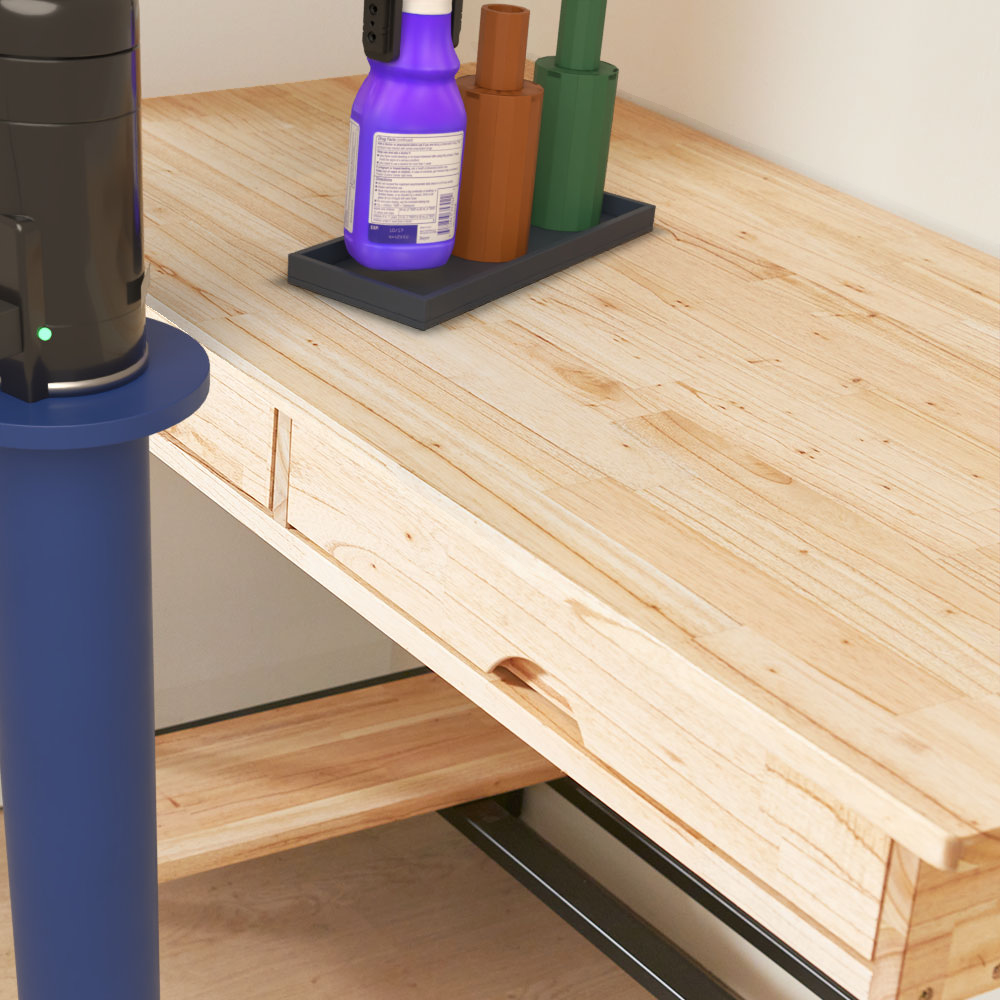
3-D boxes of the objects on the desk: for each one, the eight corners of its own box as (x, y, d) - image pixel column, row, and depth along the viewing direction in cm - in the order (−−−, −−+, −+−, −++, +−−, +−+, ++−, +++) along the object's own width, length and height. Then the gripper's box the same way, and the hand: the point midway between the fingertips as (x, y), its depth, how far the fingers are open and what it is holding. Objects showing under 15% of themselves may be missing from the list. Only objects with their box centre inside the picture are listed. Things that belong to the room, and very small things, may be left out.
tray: (423, 331, 96) (425, 300, 95) (286, 282, 101) (287, 253, 100) (652, 230, 118) (656, 205, 117) (531, 195, 123) (533, 170, 122)
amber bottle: (494, 275, 106) (518, 22, 98) (424, 253, 108) (442, 5, 100) (542, 256, 110) (568, 12, 102) (473, 235, 113) (494, -5, 105)
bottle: (432, 244, 105) (453, -22, 97) (466, 273, 100) (491, -4, 92) (331, 250, 101) (344, -24, 93) (362, 280, 97) (378, -6, 89)
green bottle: (571, 243, 113) (599, 5, 105) (504, 223, 116) (526, -10, 108) (613, 226, 118) (642, -3, 110) (547, 207, 120) (571, -18, 112)
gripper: (451, -256, 94) (432, 28, 102) (294, -263, 83) (287, 56, 91) (554, -243, 90) (526, 50, 98) (405, -248, 79) (387, 82, 87)
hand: (411, 52), depth 94 cm, fingers closed on bottle, 5 cm apart
